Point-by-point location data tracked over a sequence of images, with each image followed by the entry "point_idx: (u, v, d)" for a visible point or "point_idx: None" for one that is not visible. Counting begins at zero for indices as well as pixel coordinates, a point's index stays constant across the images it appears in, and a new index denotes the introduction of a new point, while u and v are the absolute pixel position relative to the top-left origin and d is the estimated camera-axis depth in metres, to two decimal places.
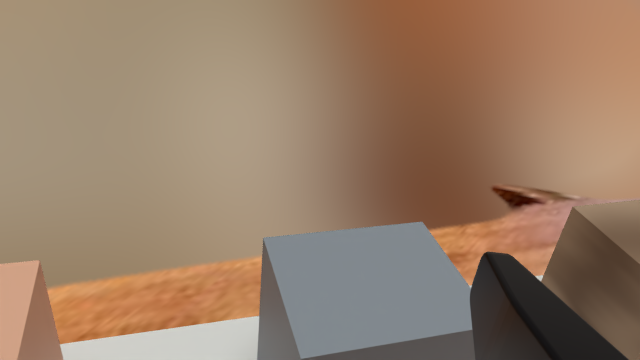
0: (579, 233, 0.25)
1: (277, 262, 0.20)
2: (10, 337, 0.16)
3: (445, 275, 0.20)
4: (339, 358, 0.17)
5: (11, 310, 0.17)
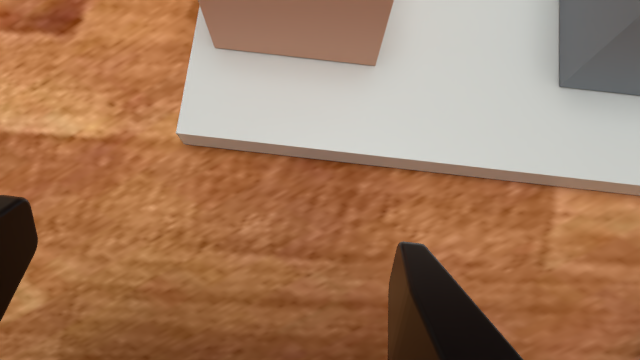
0: None
1: None
2: None
3: None
4: None
5: None
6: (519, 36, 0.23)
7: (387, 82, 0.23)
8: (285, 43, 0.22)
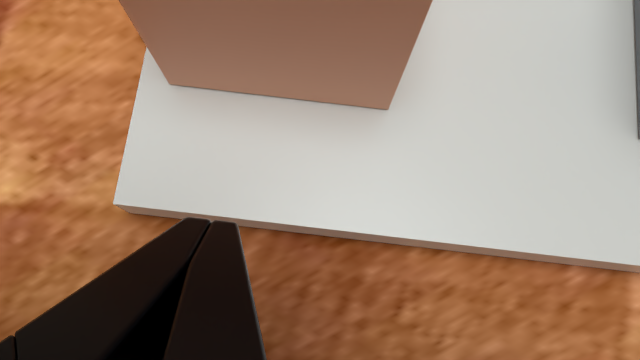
0: None
1: None
2: None
3: None
4: None
5: None
6: (582, 68, 0.17)
7: (405, 132, 0.17)
8: (264, 81, 0.16)
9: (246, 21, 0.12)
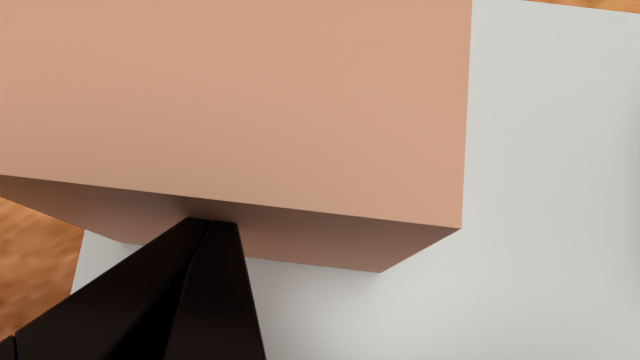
0: None
1: None
2: (447, 49, 0.07)
3: None
4: None
5: None
6: (611, 224, 0.15)
7: (400, 308, 0.14)
8: None
9: None
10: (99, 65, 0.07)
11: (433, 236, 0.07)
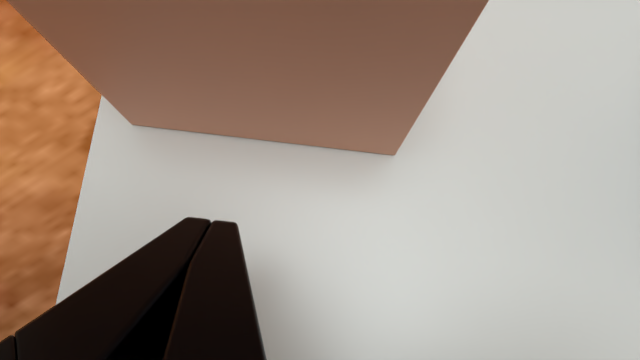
0: None
1: None
2: None
3: None
4: None
5: None
6: (628, 199, 0.14)
7: (407, 285, 0.13)
8: (244, 125, 0.13)
9: (214, 65, 0.10)
10: None
11: (459, 28, 0.07)
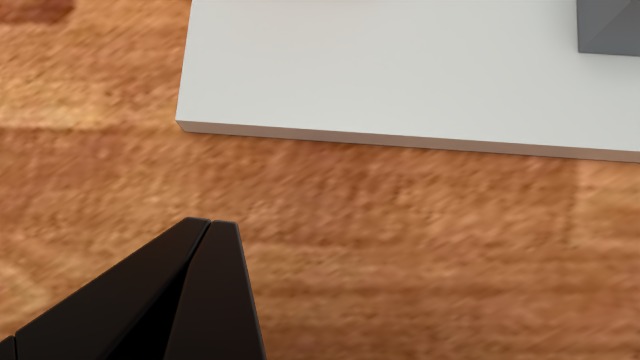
0: None
1: None
2: None
3: None
4: None
5: None
6: (533, 0, 0.22)
7: (395, 56, 0.21)
8: None
9: None
10: None
11: None
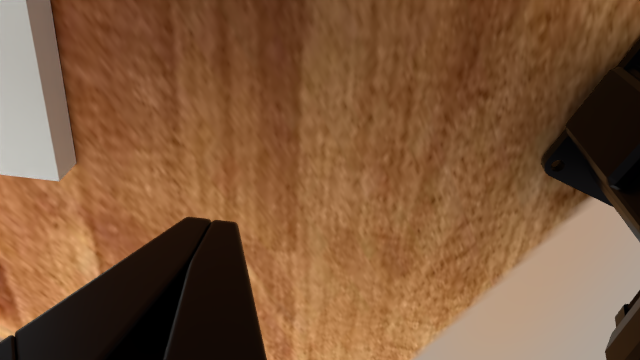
0: None
1: None
2: None
3: None
4: None
5: None
6: None
7: None
8: None
9: None
10: None
11: None
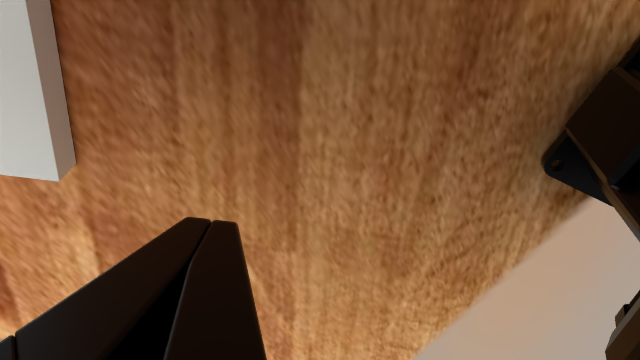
0: None
1: None
2: None
3: None
4: None
5: None
6: None
7: None
8: None
9: None
10: None
11: None
